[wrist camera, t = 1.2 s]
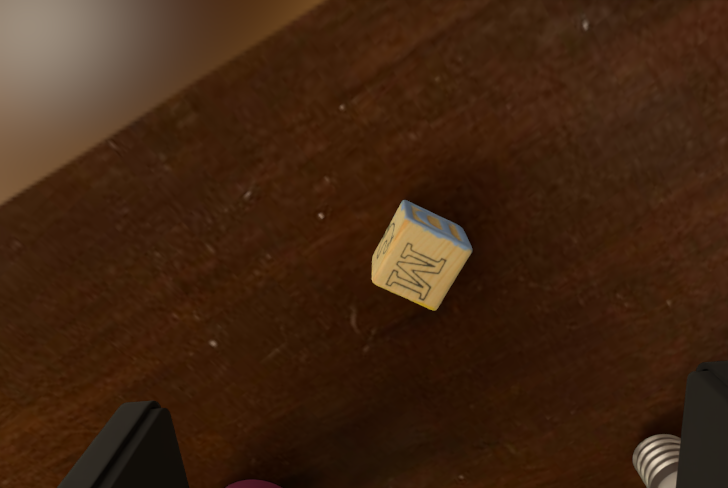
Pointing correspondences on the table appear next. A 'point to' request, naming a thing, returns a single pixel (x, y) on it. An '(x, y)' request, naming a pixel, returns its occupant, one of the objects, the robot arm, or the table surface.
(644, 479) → the lightbulb
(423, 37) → the table surface
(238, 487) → the cup
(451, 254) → the alphabet block
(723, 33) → the table surface
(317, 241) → the table surface
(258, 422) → the table surface
